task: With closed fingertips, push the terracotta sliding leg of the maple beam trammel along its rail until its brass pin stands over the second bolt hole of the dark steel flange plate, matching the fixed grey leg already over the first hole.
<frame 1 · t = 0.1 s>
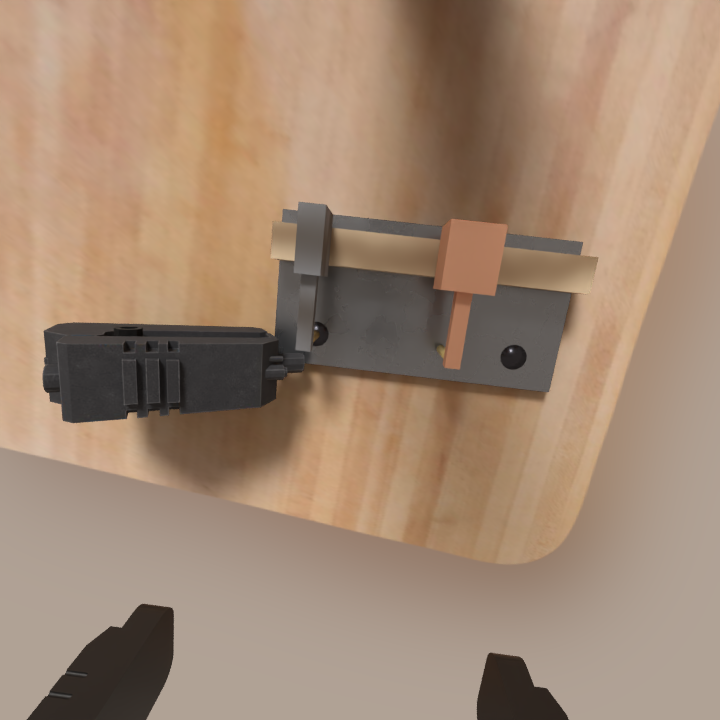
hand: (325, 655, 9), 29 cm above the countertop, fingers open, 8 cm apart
slider leg: (457, 297, 31), point 5 cm above the countertop, slide at 0.0 cm
tool: (210, 348, 38), on the countertop
hole plate: (418, 303, 36), on the countertop
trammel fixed: (426, 294, 31), on the hole plate, point 5 cm above the countertop
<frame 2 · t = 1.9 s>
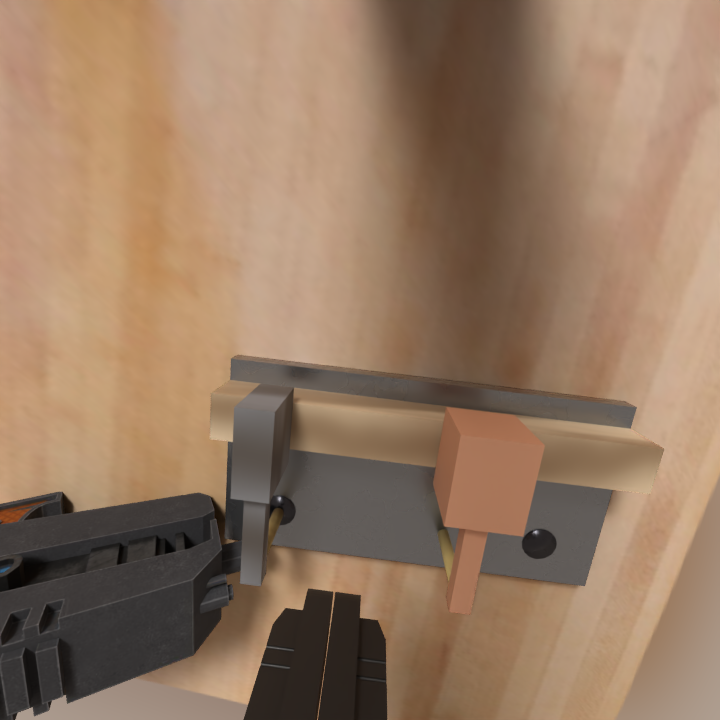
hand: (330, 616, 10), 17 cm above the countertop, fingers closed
slider leg: (466, 500, 22), point 5 cm above the countertop, slide at 0.0 cm
tool: (145, 514, 30), on the countertop
hole plate: (414, 469, 27), on the countertop
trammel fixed: (424, 493, 22), on the hole plate, point 5 cm above the countertop
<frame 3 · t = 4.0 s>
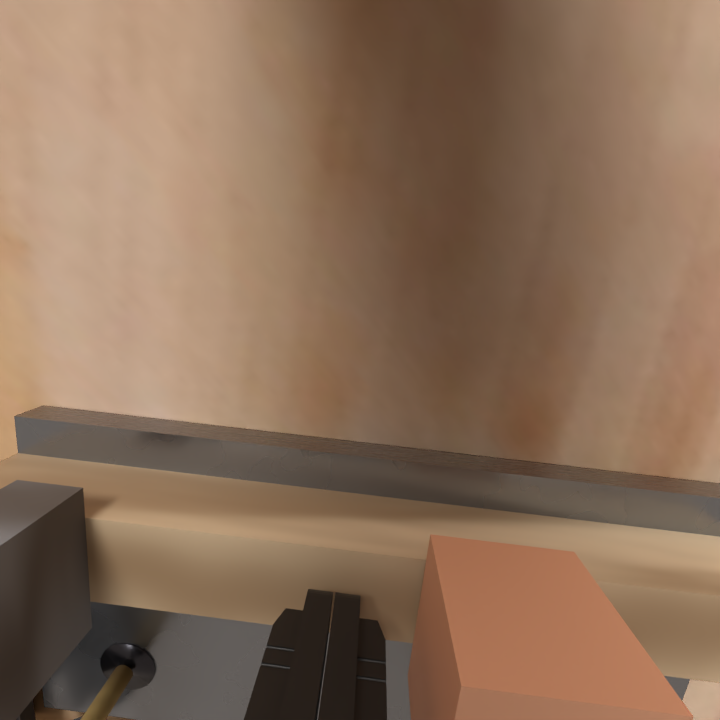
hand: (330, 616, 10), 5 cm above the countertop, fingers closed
slider leg: (474, 716, 11), point 5 cm above the countertop, slide at 1.2 cm, touching gripper
hole plate: (357, 592, 16), on the countertop
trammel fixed: (351, 695, 11), on the hole plate, point 5 cm above the countertop
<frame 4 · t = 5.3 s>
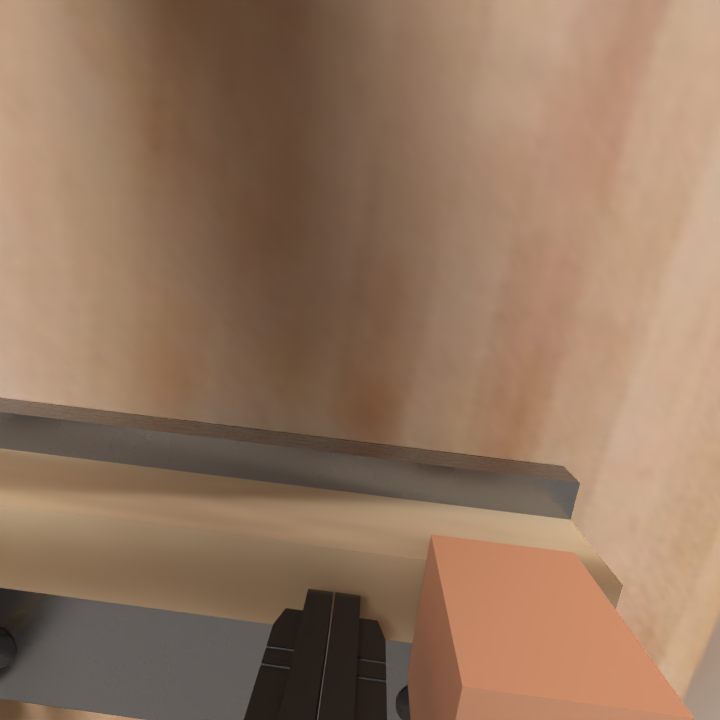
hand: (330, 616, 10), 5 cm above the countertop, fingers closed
slider leg: (473, 717, 11), point 5 cm above the countertop, slide at 7.3 cm, touching gripper
hole plate: (218, 574, 16), on the countertop
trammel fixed: (152, 667, 11), on the hole plate, point 5 cm above the countertop
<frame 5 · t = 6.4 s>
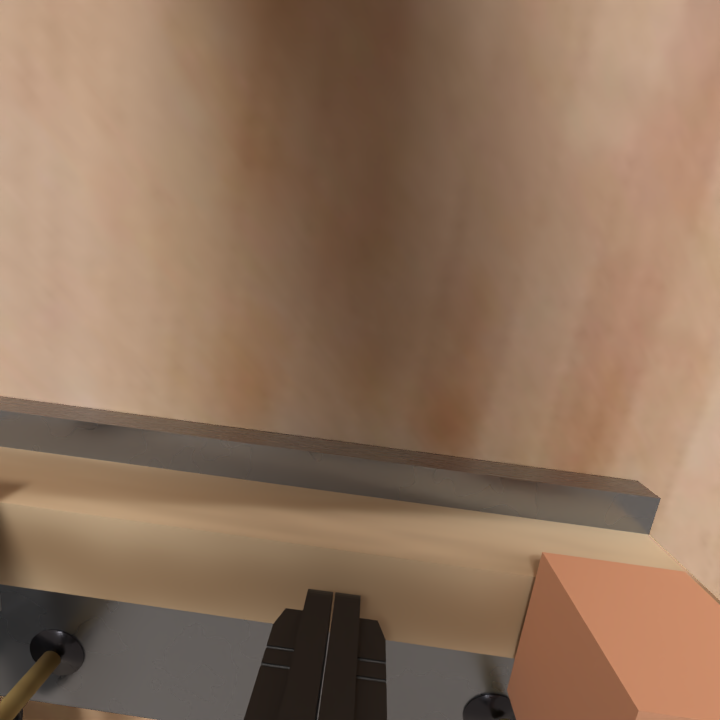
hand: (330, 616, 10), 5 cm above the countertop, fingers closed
hole plate: (285, 583, 16), on the countertop
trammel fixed: (250, 678, 11), on the hole plate, point 5 cm above the countertop
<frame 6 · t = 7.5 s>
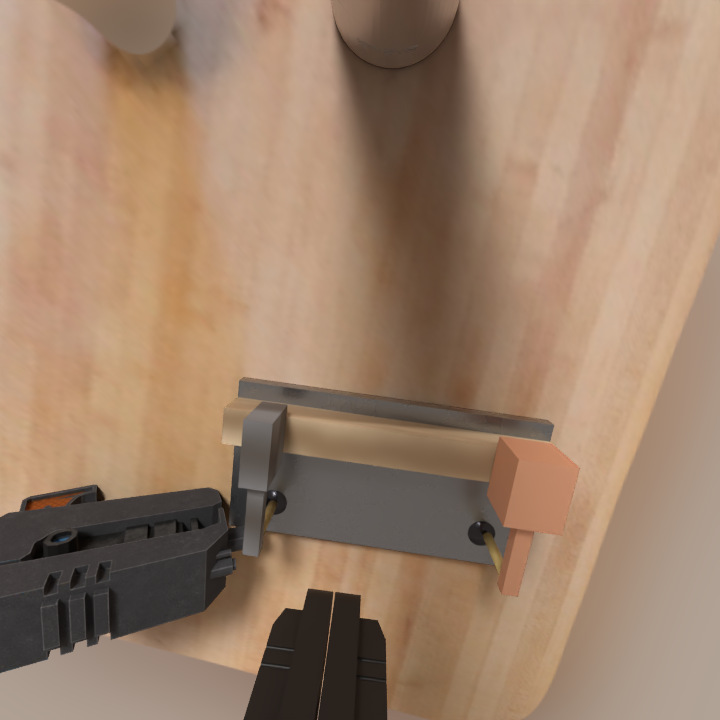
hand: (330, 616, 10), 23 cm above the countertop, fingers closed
slider leg: (513, 508, 29), point 5 cm above the countertop, slide at 7.5 cm
tool: (164, 505, 36), on the countertop
hole plate: (383, 471, 34), on the countertop
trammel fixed: (385, 488, 29), on the hole plate, point 5 cm above the countertop
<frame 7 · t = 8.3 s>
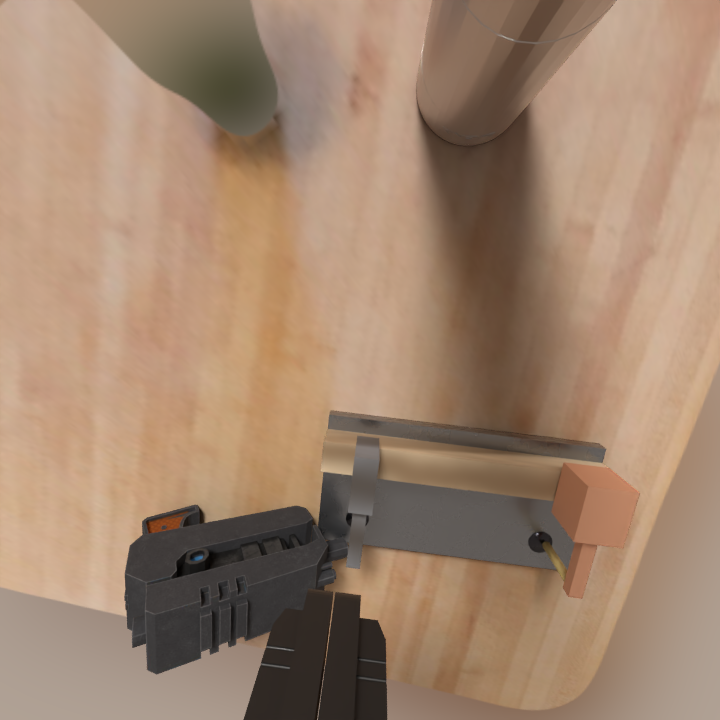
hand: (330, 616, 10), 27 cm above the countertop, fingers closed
slider leg: (574, 523, 34), point 5 cm above the countertop, slide at 7.5 cm
tool: (256, 521, 41), on the countertop
hole plate: (452, 489, 39), on the countertop
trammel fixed: (464, 508, 34), on the hole plate, point 5 cm above the countertop
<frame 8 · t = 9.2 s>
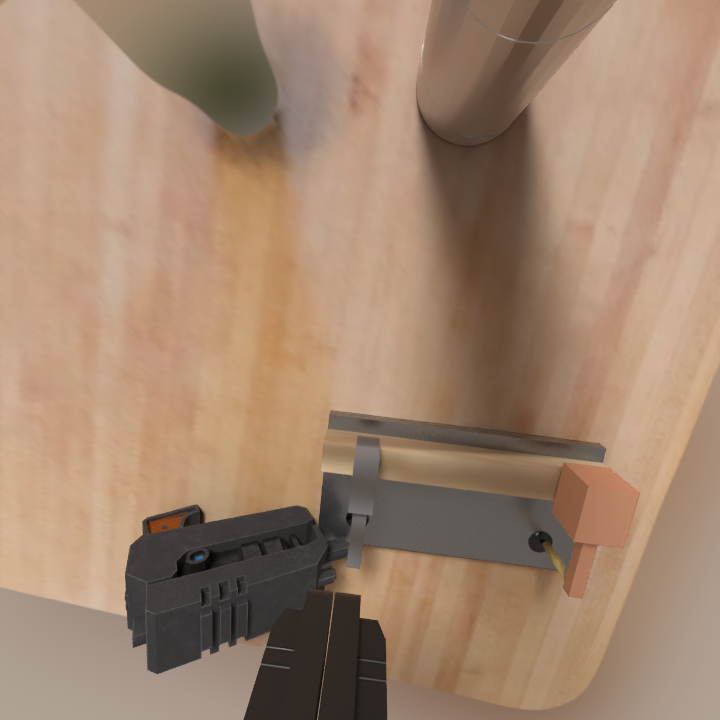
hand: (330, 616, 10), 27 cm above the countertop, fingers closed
slider leg: (575, 523, 34), point 5 cm above the countertop, slide at 7.5 cm
tool: (256, 521, 41), on the countertop
hole plate: (452, 489, 39), on the countertop
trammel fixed: (464, 508, 34), on the hole plate, point 5 cm above the countertop
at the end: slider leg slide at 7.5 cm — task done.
